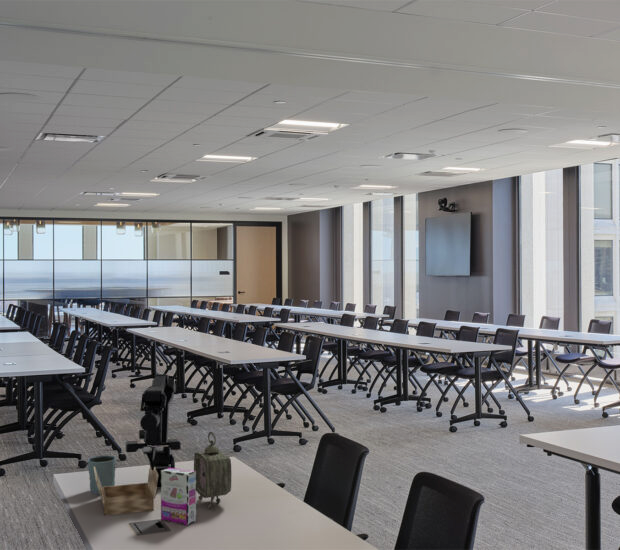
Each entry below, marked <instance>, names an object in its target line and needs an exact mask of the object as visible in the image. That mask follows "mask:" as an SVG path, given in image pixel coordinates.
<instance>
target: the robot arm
mask: <svg viewBox="0 0 620 550" xmlns="http://www.w3.org/2000/svg"><path fill="white" fill-rule="evenodd" d="M176 391H177V390H176V382H175V380H174V379H173V378H171V377H169V374H167V373H162V374H161V373H156V374H154V377H153V379H152V381H151V386H150V387H148V388H146V389H144V392H143V393H142V395H141V402H140V403H141V404H140V412H144V415H142V417H141V418H140V424H139V425H140V428H141V429H139V430H138V440H143V442H141V443H138V441H137V440H129V441H128V440H127V441H126V442H125V445H124V450H125V452H126V453H136V452H137V451H139V450H142V454H143V455H146V456H147V459H148V461H149V467H150V466H151V469H152V470H154V467H155V469H156V471H157V473H158V482H157V488H156V489H158V488H159V489H160V488H161V471H162V470H164V469H167V468H176V463H175V461H176V460H175V457H174V455H173V453H172V451H178V450H179V451H180V450H181V448H182V447H181V446H182V445H181V441H180V439H178V438H172V439H171V438H169V420H170V419H169V417H170V416H169V415H170V404H171V402H172V401H173V399H174V394H175V393H176Z"/></svg>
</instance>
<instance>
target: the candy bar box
mask: <svg viewBox="0 0 620 550" xmlns="http://www.w3.org/2000/svg"><path fill="white" fill-rule="evenodd" d="M160 520H161V521H163V522H168V523H174V524H179V525H185V526H189V525H192V524H194V523H196V522H197V491H196V471H194V470H190V469H184V468H183V469H182V468H177V467H175V468H167V469H164V470H162V471H161V487H160Z"/></svg>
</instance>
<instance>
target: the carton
mask: <svg viewBox="0 0 620 550" xmlns="http://www.w3.org/2000/svg"><path fill="white" fill-rule="evenodd" d="M102 491H103V497H104V502H105V503H104V504H103V501H102V500H101V501H102V507H103V514H104V516H113V515H114V516H115V515H124V514H133V513H143V512H153V511H155V507H154V506H155V498H153V496H152V493H151V491H150V488H149V486H148V483H147V482H142V483H141V482H140V483H129V484H128V483H127V484H119V485H118V484H117V485H115V486H106V487H102Z"/></svg>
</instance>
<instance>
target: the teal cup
mask: <svg viewBox="0 0 620 550" xmlns="http://www.w3.org/2000/svg"><path fill="white" fill-rule="evenodd" d="M116 462H117V458H116V456H114V455H97V456H93V457H90V458H88V459H87V469H88V474H89V489H90V493H91V494H93V495H100V492H99V489H98V486H97V483H96V479H95V472H94V467H95V468H96V471H97V474H98V477H99V480H100V483H101V486H102V487H106V486H116V484H115V483H116V481H115V479H116V465H117V463H116Z"/></svg>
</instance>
